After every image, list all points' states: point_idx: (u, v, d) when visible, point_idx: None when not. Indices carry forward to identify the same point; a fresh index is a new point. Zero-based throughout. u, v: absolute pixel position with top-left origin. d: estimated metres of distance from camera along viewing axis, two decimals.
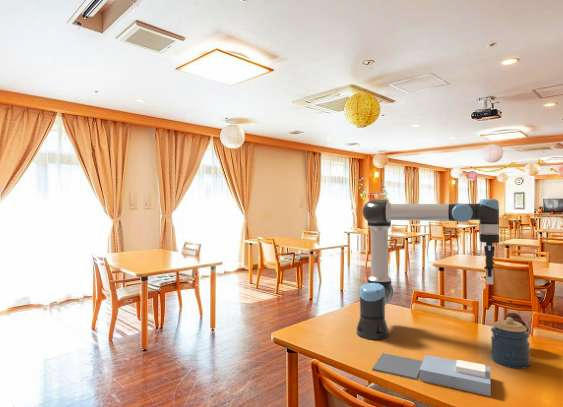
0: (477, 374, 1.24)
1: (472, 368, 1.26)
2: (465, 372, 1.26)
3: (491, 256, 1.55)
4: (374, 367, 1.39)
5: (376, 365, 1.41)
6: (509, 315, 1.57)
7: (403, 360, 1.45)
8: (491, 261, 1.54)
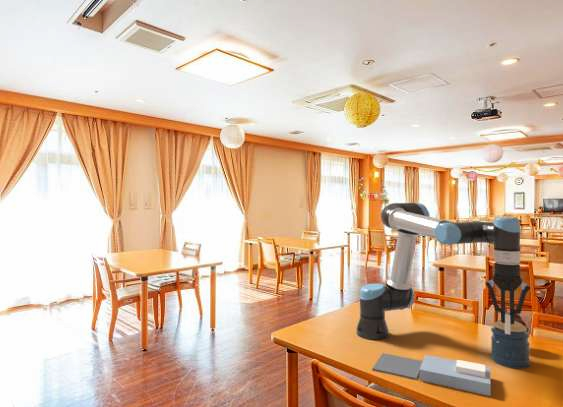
0: (477, 374, 1.24)
1: (472, 368, 1.26)
2: (465, 372, 1.26)
3: (491, 296, 1.24)
4: (374, 367, 1.39)
5: (376, 365, 1.41)
6: None
7: (403, 360, 1.45)
8: None
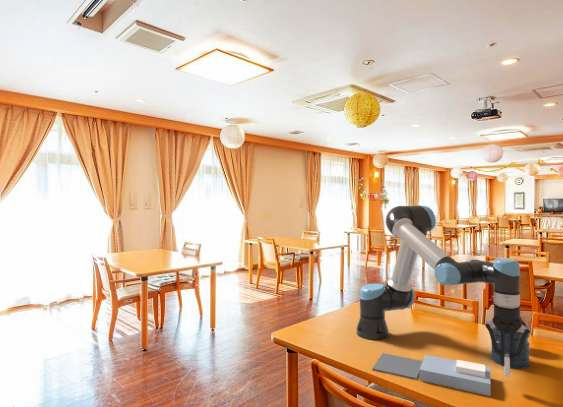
0: (477, 374, 1.24)
1: (472, 368, 1.26)
2: (465, 372, 1.26)
3: None
4: (374, 367, 1.39)
5: (376, 365, 1.41)
6: None
7: (403, 360, 1.45)
8: (492, 344, 1.24)
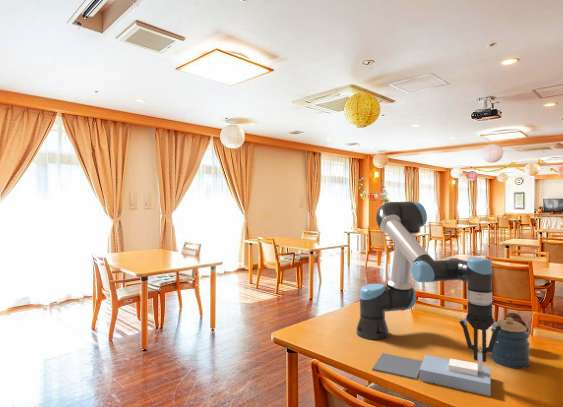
0: (469, 373, 1.25)
1: (465, 367, 1.27)
2: (458, 371, 1.27)
3: None
4: (374, 367, 1.39)
5: (376, 365, 1.41)
6: (509, 315, 1.57)
7: (403, 360, 1.45)
8: (466, 340, 1.28)
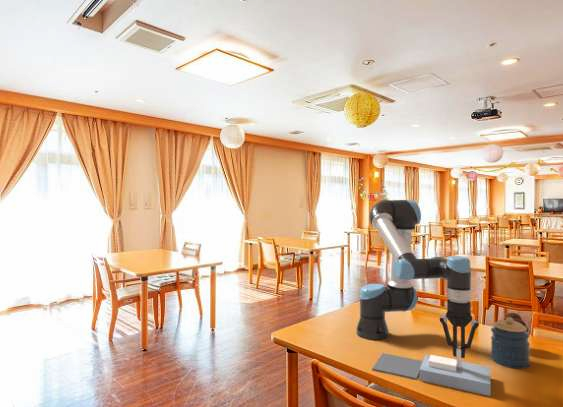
0: (448, 368, 1.28)
1: (444, 363, 1.30)
2: (437, 366, 1.30)
3: None
4: (374, 367, 1.39)
5: (376, 365, 1.41)
6: (509, 315, 1.57)
7: (403, 360, 1.45)
8: None
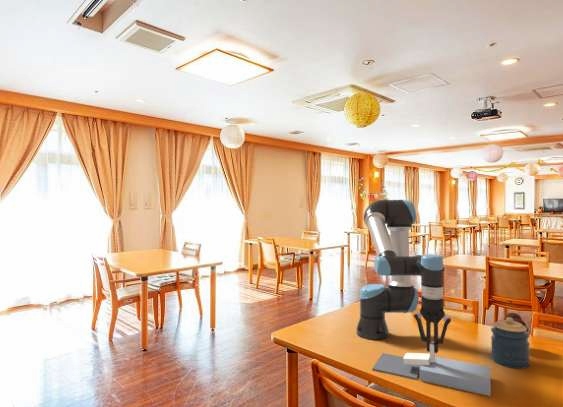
0: (422, 363, 1.33)
1: (417, 358, 1.34)
2: (412, 363, 1.35)
3: None
4: (374, 367, 1.39)
5: (376, 365, 1.41)
6: (509, 315, 1.57)
7: None
8: None
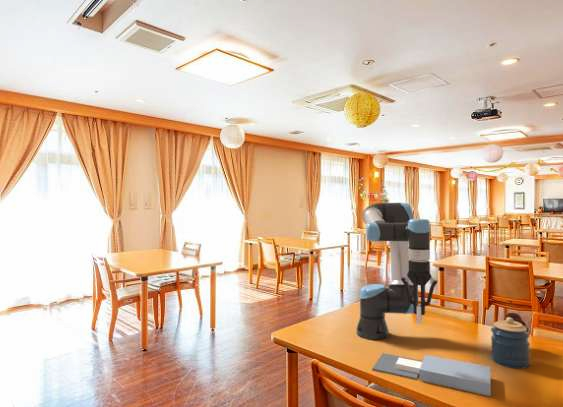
0: (414, 371, 1.34)
1: (410, 365, 1.36)
2: (403, 369, 1.36)
3: None
4: (374, 367, 1.39)
5: (376, 365, 1.41)
6: (509, 315, 1.57)
7: None
8: None
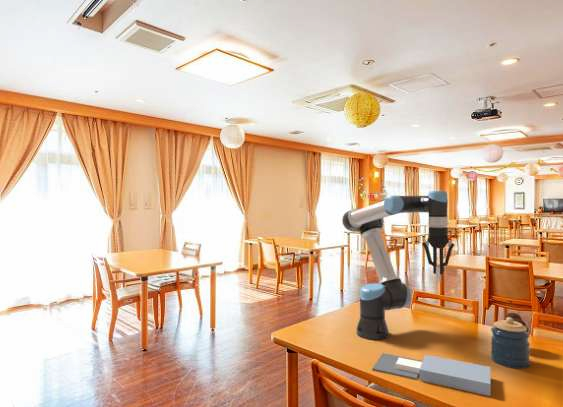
0: (414, 371, 1.34)
1: (410, 365, 1.36)
2: (403, 369, 1.36)
3: None
4: (374, 367, 1.39)
5: (376, 365, 1.41)
6: (509, 315, 1.57)
7: None
8: None
